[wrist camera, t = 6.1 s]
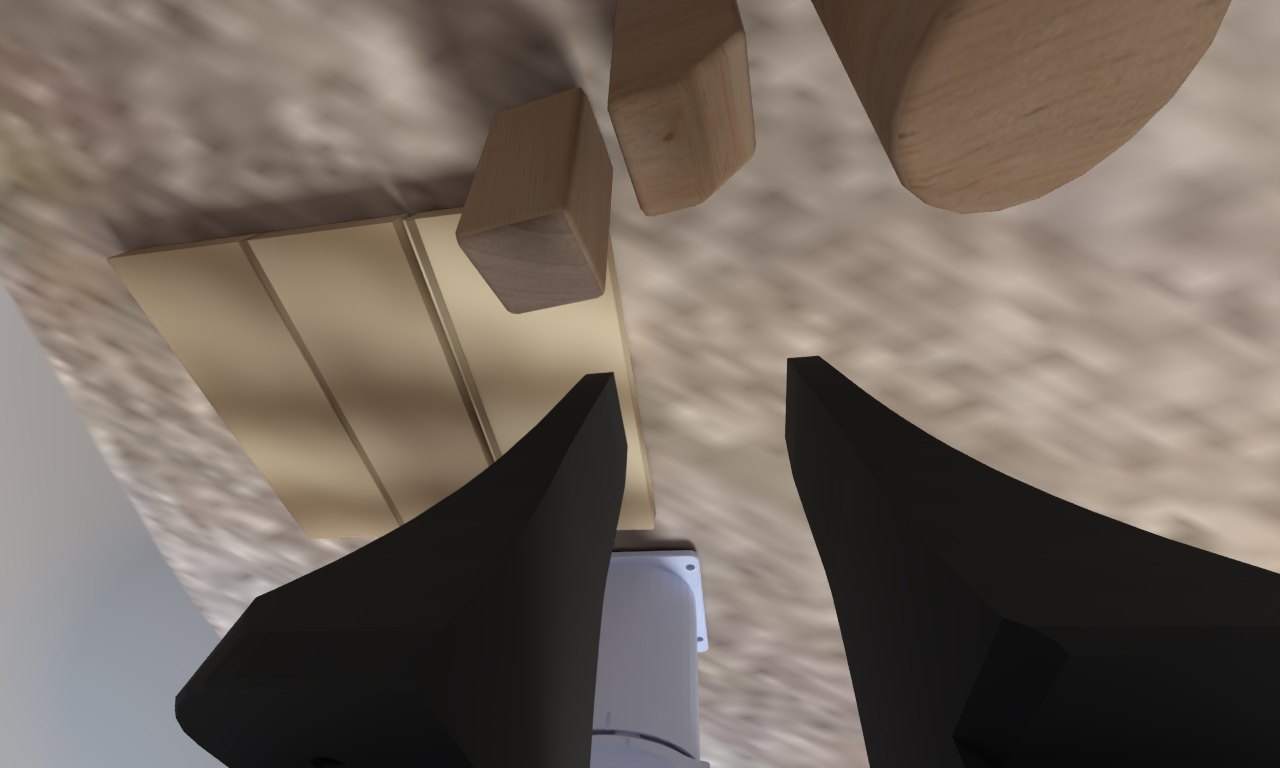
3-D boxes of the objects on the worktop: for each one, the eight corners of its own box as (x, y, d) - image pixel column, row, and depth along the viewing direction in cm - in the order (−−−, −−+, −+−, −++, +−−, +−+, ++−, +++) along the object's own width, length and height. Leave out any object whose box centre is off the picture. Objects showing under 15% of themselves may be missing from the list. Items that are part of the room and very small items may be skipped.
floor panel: (520, 514, 27) (514, 531, 26) (322, 522, 28) (308, 538, 27) (408, 213, 18) (392, 221, 17) (135, 249, 20) (105, 258, 19)
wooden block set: (560, 206, 20) (525, 424, 14) (430, -60, 13) (263, 154, 7) (1070, 76, 16) (1312, 311, 10) (1267, -410, 9) (2366, -543, 3)
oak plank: (655, 511, 26) (654, 530, 24) (528, 514, 27) (520, 532, 26) (602, 189, 17) (596, 197, 16) (418, 212, 18) (401, 221, 17)
